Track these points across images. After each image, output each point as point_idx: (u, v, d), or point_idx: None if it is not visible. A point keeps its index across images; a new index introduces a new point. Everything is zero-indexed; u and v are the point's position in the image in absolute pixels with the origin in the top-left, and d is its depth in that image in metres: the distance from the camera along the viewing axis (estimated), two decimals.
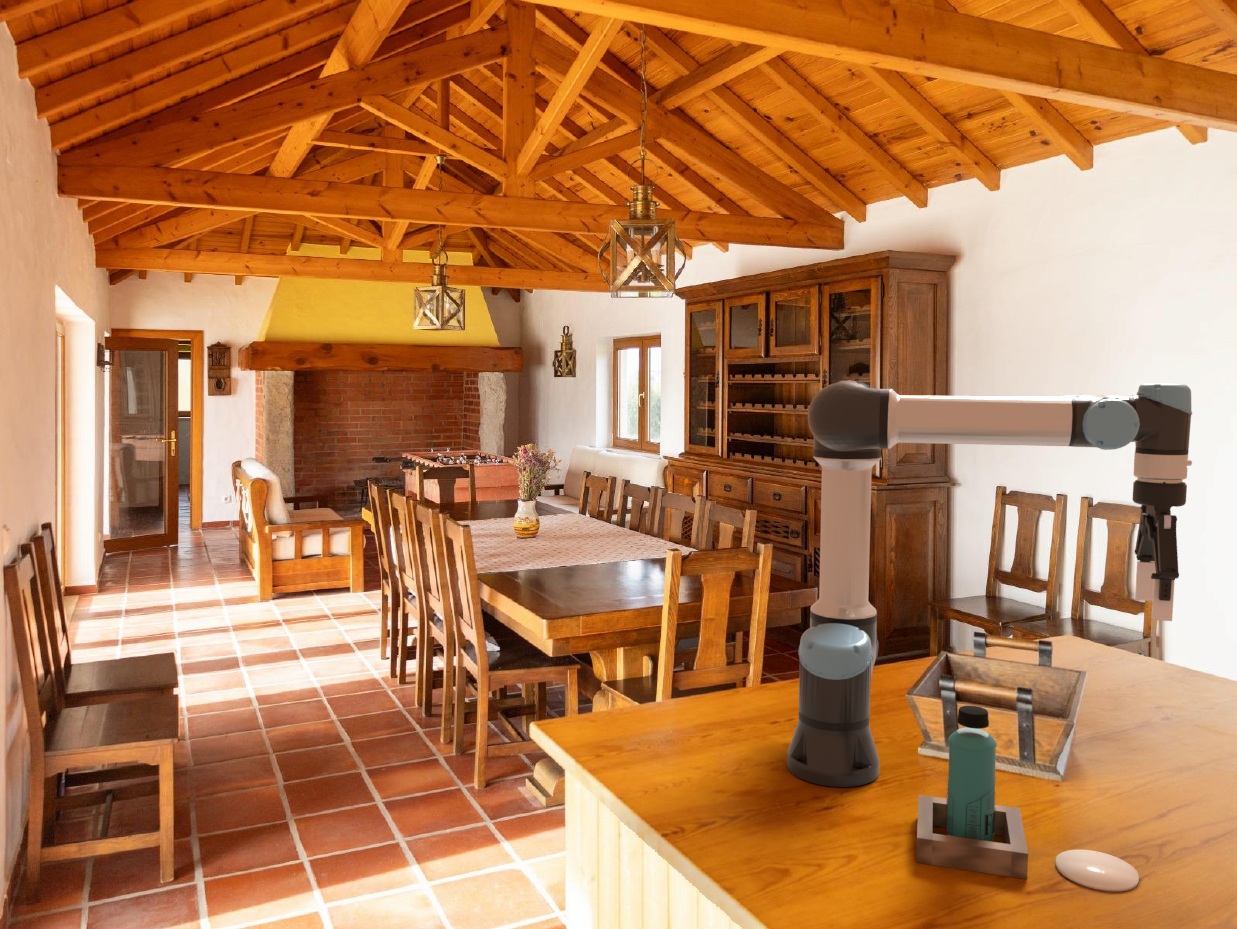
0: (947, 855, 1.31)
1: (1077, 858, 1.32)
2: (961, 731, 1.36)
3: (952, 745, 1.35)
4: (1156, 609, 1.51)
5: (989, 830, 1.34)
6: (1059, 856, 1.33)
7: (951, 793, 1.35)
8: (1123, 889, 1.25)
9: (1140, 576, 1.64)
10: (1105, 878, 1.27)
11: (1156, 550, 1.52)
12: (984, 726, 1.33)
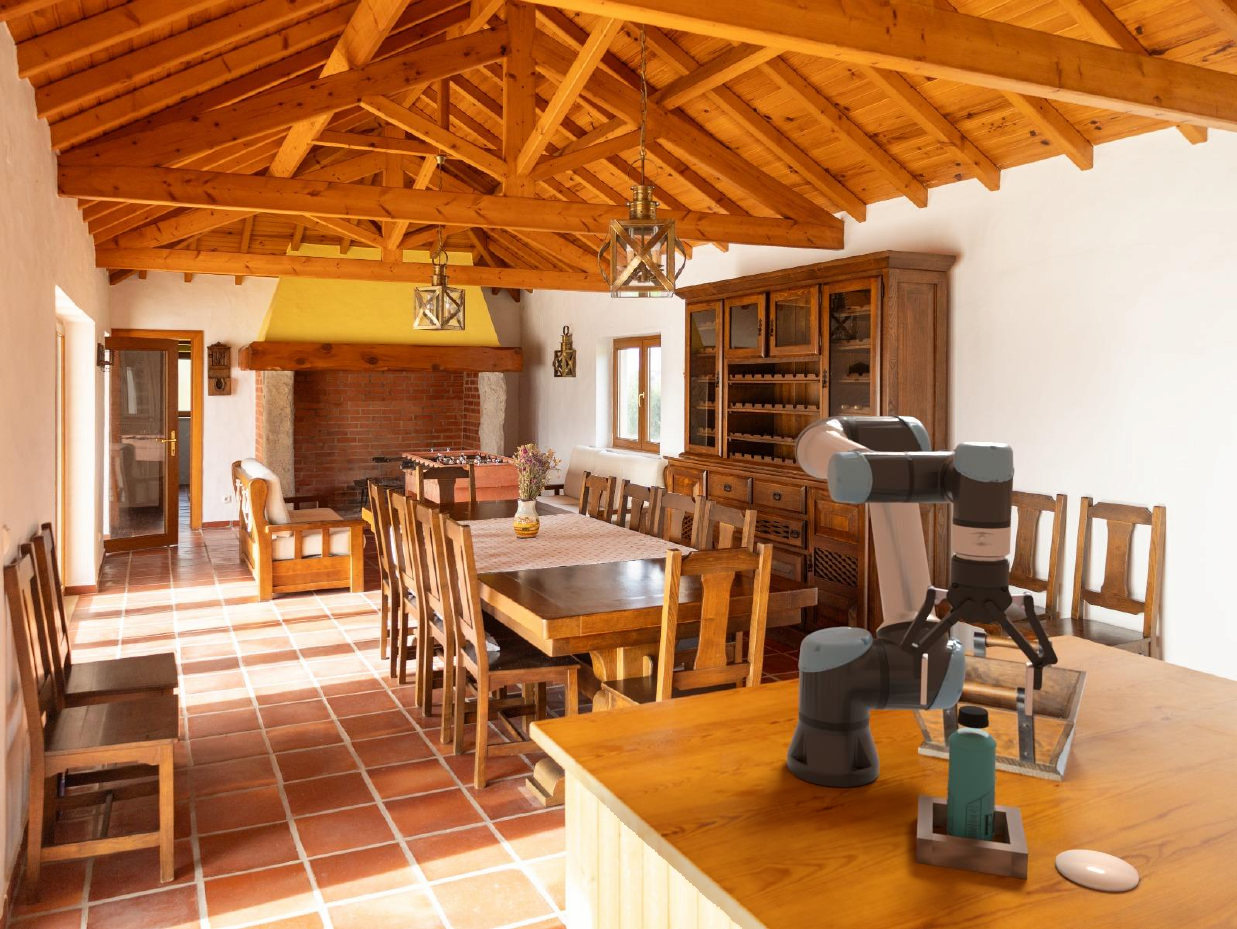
0: (947, 855, 1.31)
1: (1077, 858, 1.32)
2: (961, 731, 1.36)
3: (952, 745, 1.35)
4: None
5: (989, 830, 1.34)
6: (1059, 856, 1.33)
7: (951, 793, 1.35)
8: (1123, 889, 1.25)
9: (1025, 680, 1.33)
10: (1105, 878, 1.27)
11: (935, 626, 1.36)
12: (984, 726, 1.33)
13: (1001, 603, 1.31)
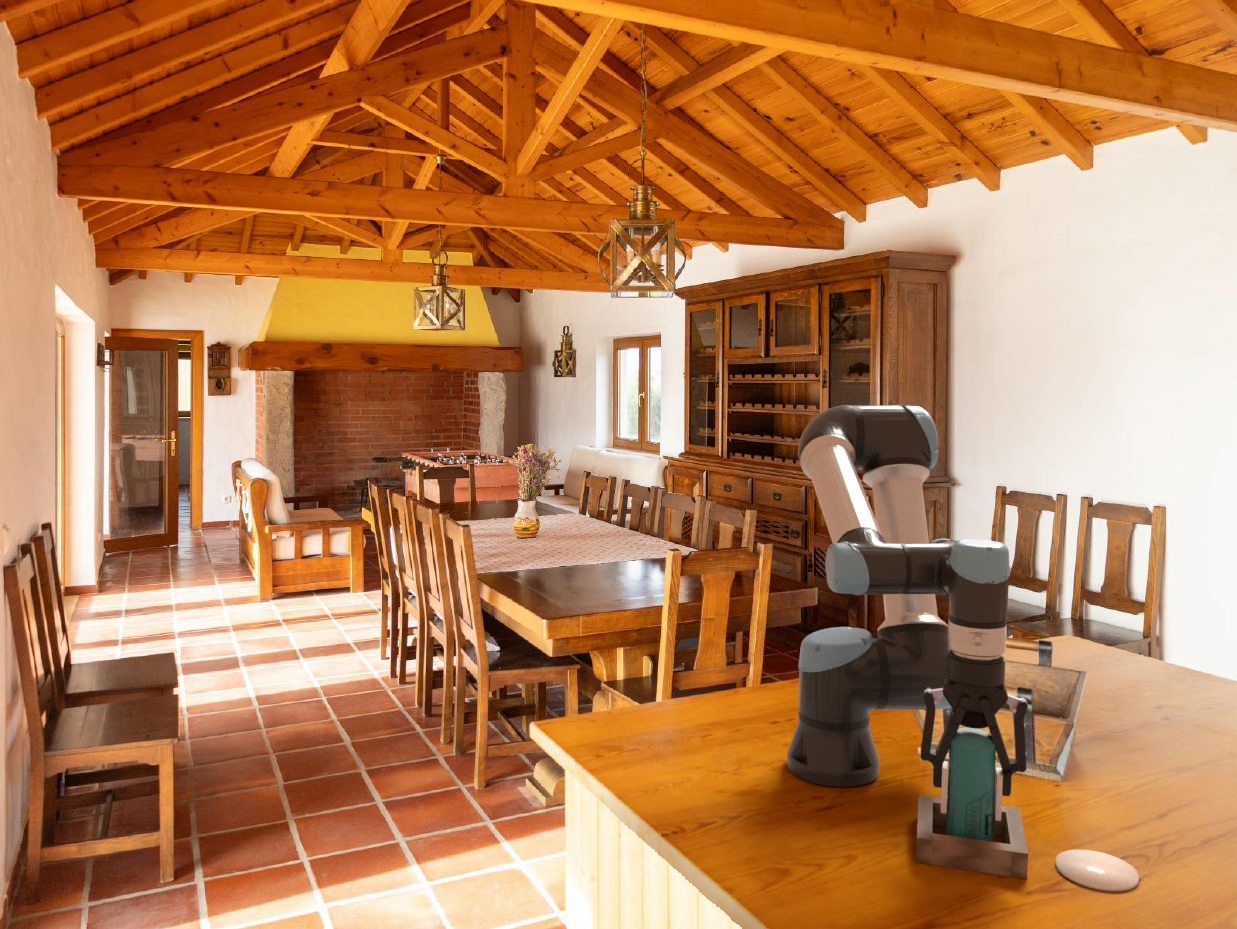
0: (947, 855, 1.31)
1: (1077, 858, 1.32)
2: (961, 731, 1.36)
3: (952, 745, 1.35)
4: None
5: (989, 830, 1.34)
6: (1059, 856, 1.33)
7: (951, 793, 1.35)
8: (1123, 889, 1.25)
9: (995, 785, 1.36)
10: (1105, 878, 1.27)
11: None
12: (984, 726, 1.33)
13: (996, 699, 1.33)
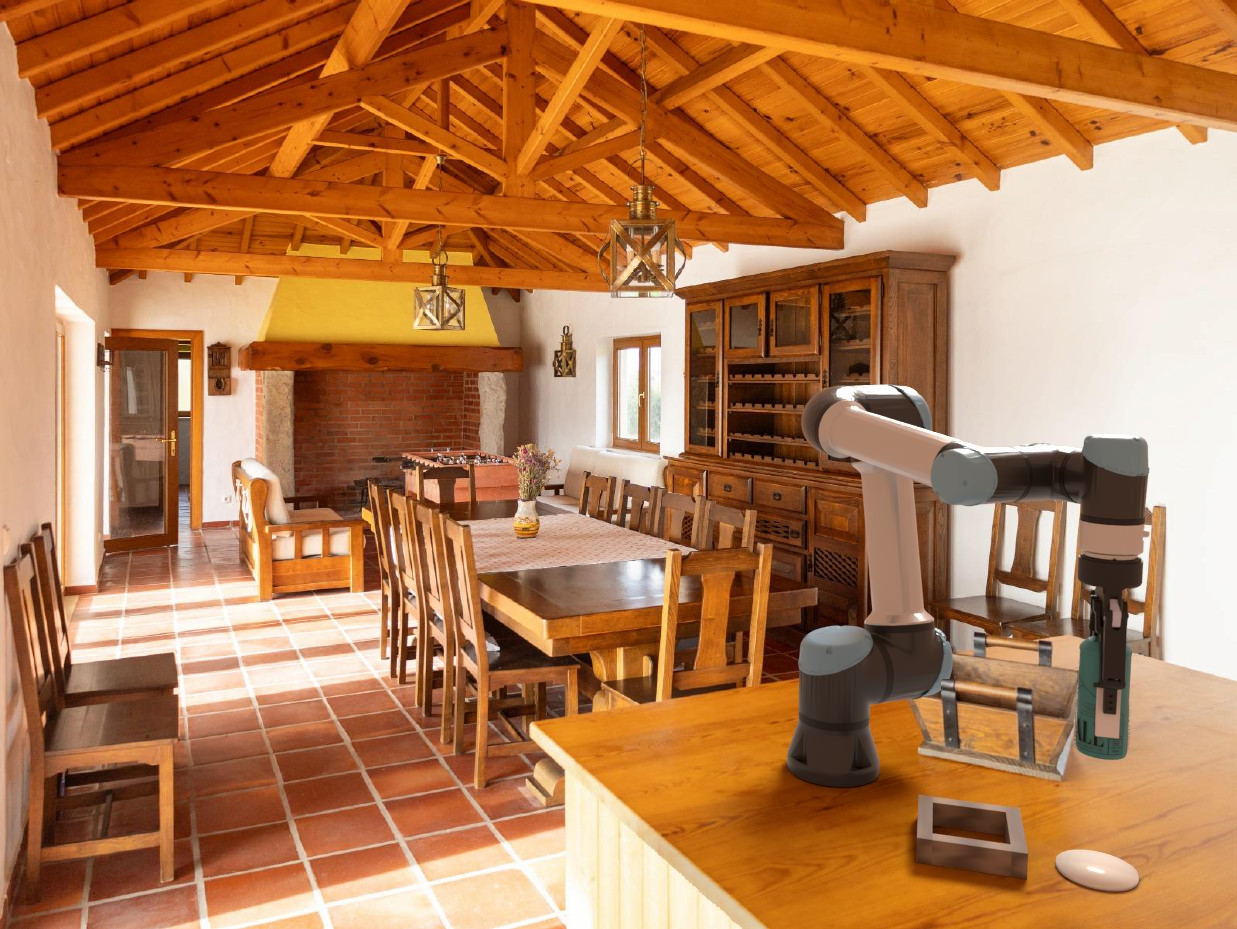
0: (947, 855, 1.31)
1: (1077, 858, 1.32)
2: None
3: None
4: (1100, 723, 1.24)
5: None
6: (1059, 856, 1.33)
7: None
8: (1123, 889, 1.25)
9: None
10: (1105, 878, 1.27)
11: (1102, 650, 1.23)
12: None
13: None
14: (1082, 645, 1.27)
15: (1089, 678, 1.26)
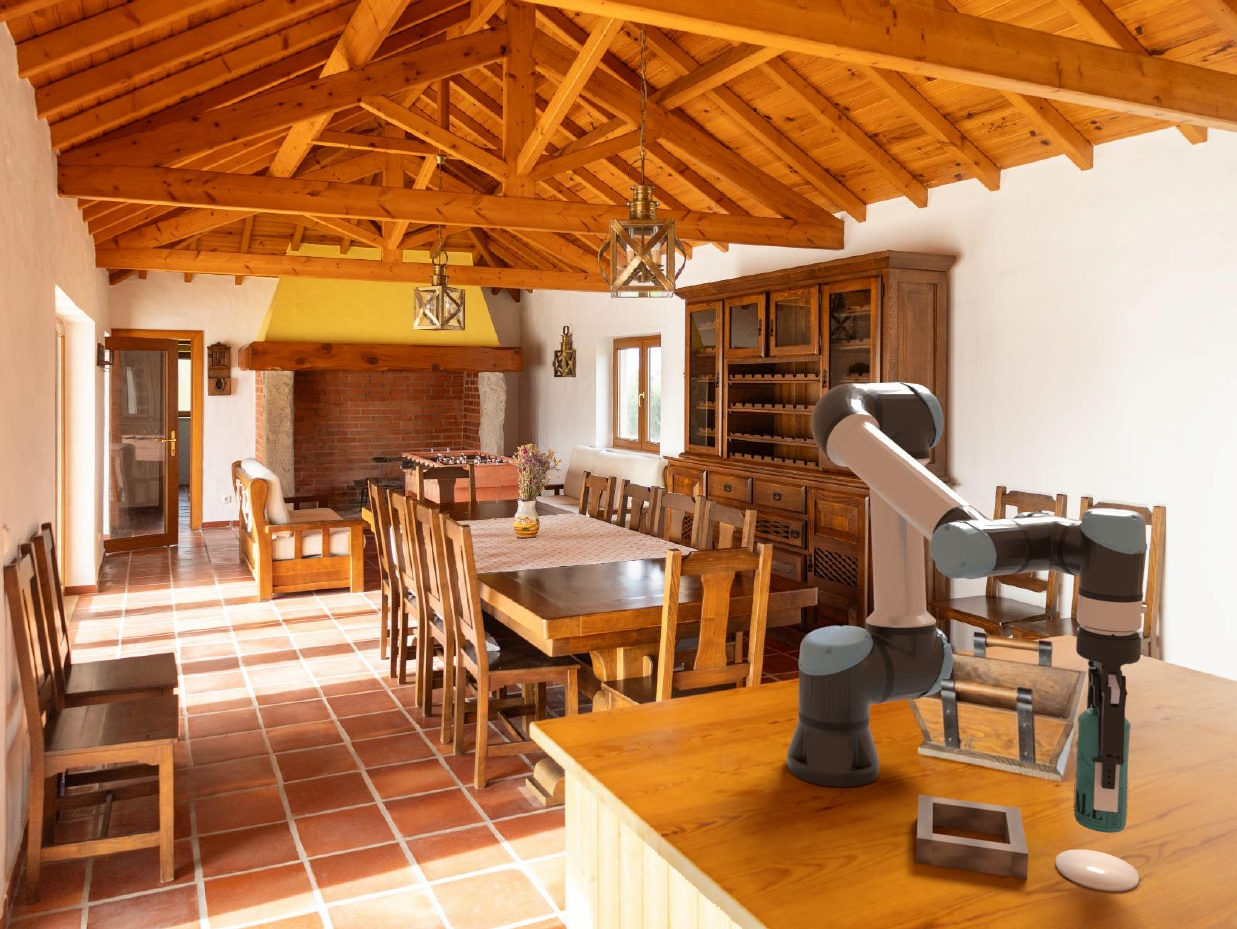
0: (947, 855, 1.31)
1: (1077, 858, 1.32)
2: None
3: None
4: (1098, 797, 1.25)
5: None
6: (1059, 856, 1.33)
7: None
8: (1123, 889, 1.25)
9: None
10: (1105, 878, 1.27)
11: (1100, 724, 1.24)
12: None
13: None
14: (1081, 718, 1.28)
15: (1088, 751, 1.27)
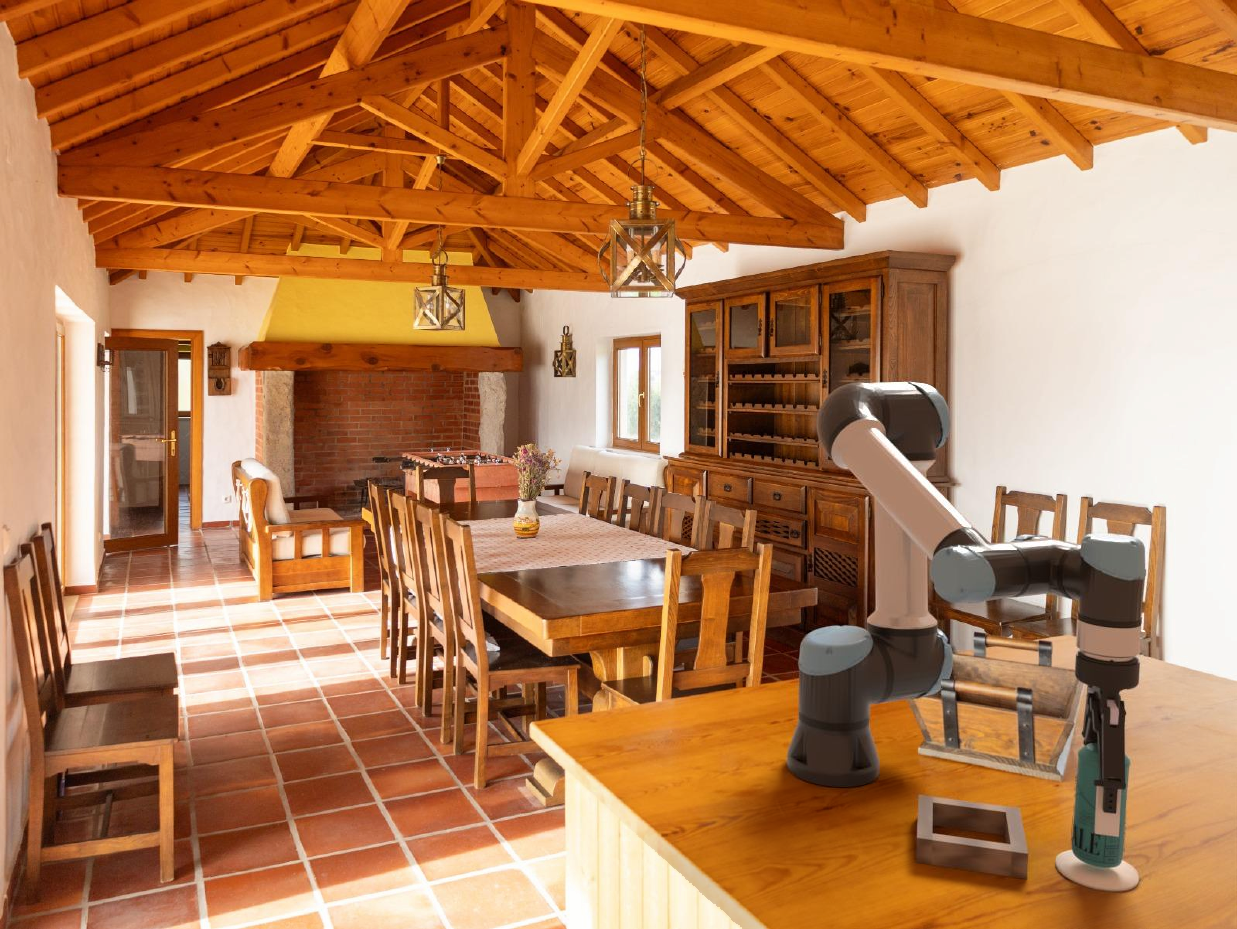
0: (947, 855, 1.31)
1: (1077, 858, 1.32)
2: None
3: None
4: (1099, 821, 1.23)
5: None
6: (1059, 856, 1.33)
7: None
8: (1123, 889, 1.25)
9: None
10: (1105, 878, 1.27)
11: (1100, 747, 1.24)
12: None
13: None
14: (1081, 753, 1.28)
15: (1087, 787, 1.27)
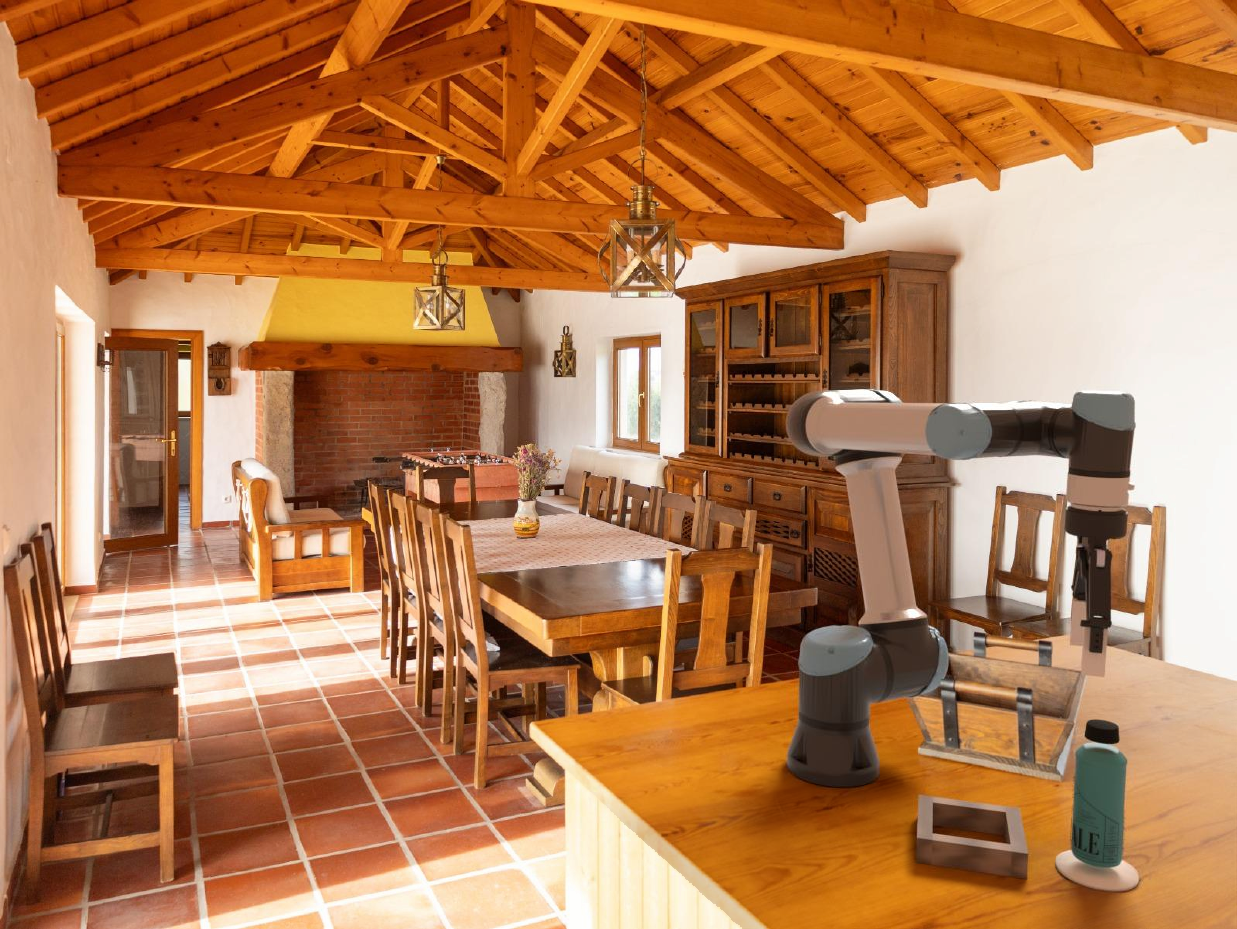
0: (947, 855, 1.31)
1: None
2: (1102, 752, 1.27)
3: (1116, 768, 1.25)
4: (1086, 662, 1.26)
5: None
6: (1059, 856, 1.33)
7: (1114, 819, 1.26)
8: (1123, 889, 1.25)
9: (1075, 617, 1.38)
10: (1105, 878, 1.27)
11: (1088, 591, 1.27)
12: None
13: None
14: (1078, 753, 1.29)
15: (1085, 787, 1.27)
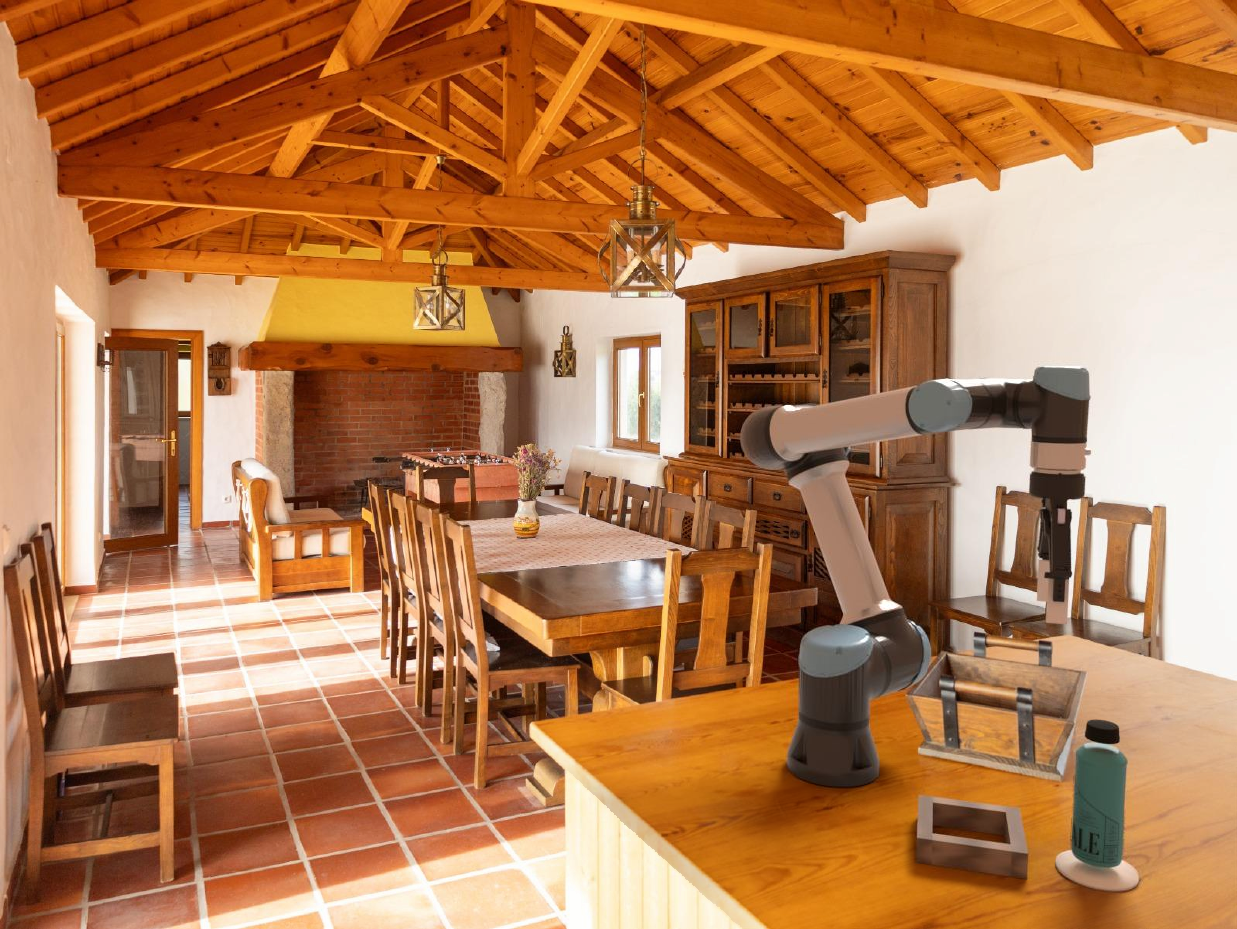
0: (947, 855, 1.31)
1: None
2: (1102, 752, 1.27)
3: (1116, 768, 1.25)
4: (1050, 611, 1.39)
5: None
6: (1059, 856, 1.33)
7: (1114, 819, 1.26)
8: (1123, 889, 1.25)
9: (1041, 575, 1.51)
10: (1105, 878, 1.27)
11: (1050, 547, 1.39)
12: None
13: None
14: (1078, 753, 1.29)
15: (1085, 787, 1.27)
